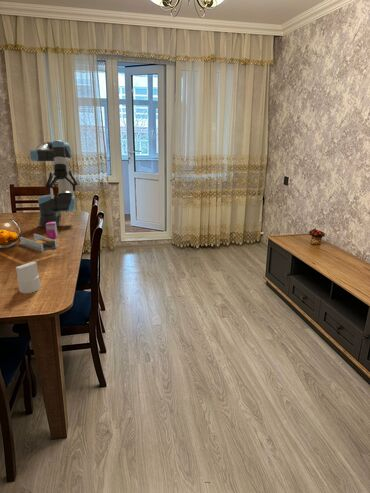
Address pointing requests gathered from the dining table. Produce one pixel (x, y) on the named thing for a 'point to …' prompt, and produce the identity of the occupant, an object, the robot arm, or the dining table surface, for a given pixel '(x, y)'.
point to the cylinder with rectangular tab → (28, 277)
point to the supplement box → (51, 230)
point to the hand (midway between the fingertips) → (62, 197)
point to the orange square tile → (41, 241)
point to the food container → (58, 215)
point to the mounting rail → (38, 246)
